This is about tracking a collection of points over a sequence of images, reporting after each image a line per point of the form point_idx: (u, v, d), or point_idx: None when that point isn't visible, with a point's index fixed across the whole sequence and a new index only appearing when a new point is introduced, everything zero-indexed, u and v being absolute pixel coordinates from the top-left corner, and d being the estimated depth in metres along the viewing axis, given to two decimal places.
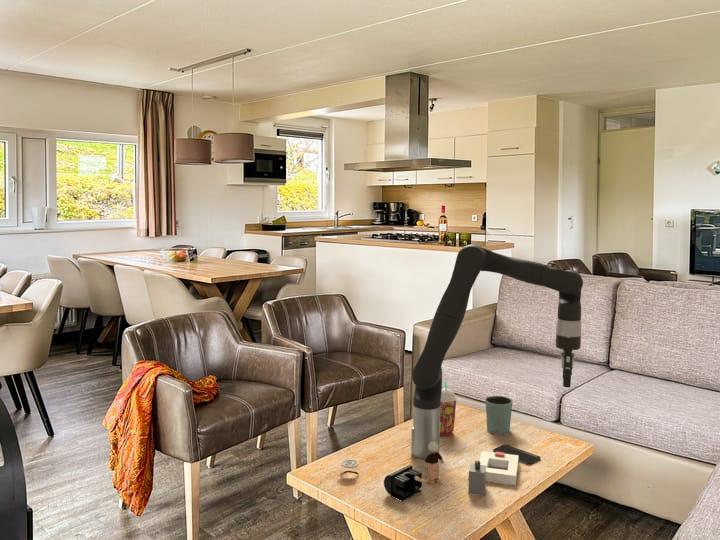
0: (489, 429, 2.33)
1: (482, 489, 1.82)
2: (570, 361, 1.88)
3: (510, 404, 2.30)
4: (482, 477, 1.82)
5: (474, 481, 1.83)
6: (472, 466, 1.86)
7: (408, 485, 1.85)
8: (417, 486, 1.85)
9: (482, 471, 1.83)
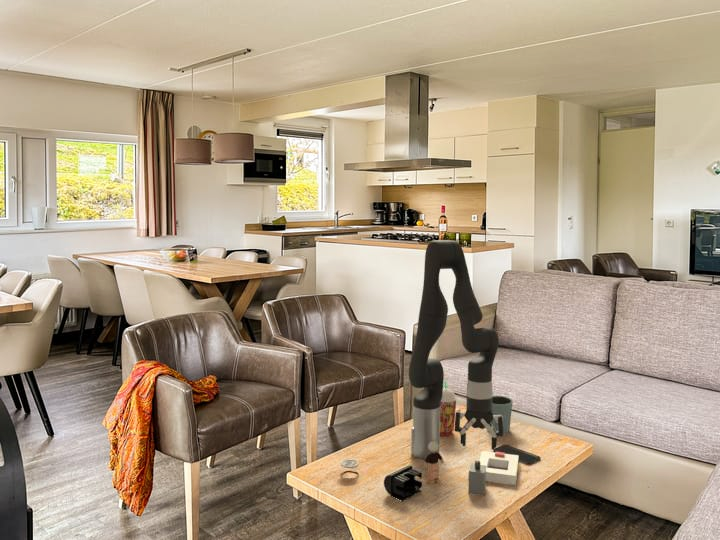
0: None
1: (482, 489, 1.82)
2: (502, 419, 1.82)
3: (510, 404, 2.30)
4: (482, 477, 1.82)
5: (474, 481, 1.83)
6: (472, 466, 1.86)
7: (408, 485, 1.85)
8: (417, 486, 1.85)
9: (482, 471, 1.83)
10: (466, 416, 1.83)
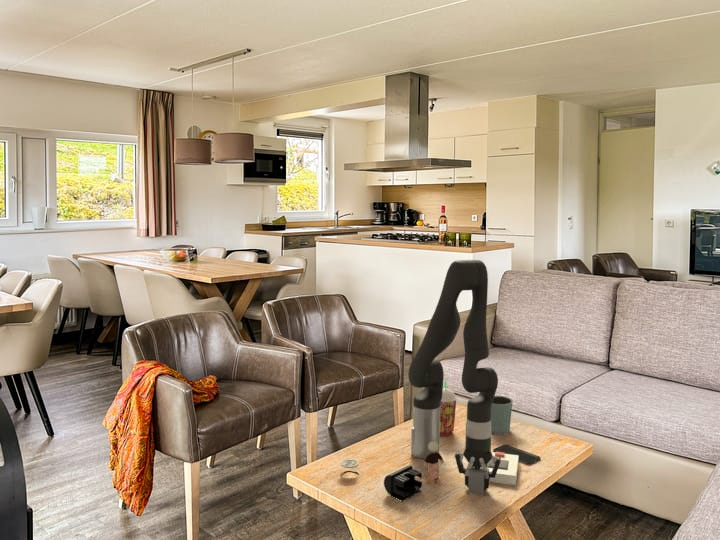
0: None
1: (482, 489, 1.82)
2: None
3: (510, 404, 2.30)
4: (482, 477, 1.82)
5: (474, 481, 1.83)
6: (472, 466, 1.86)
7: (408, 485, 1.85)
8: (417, 486, 1.85)
9: (482, 471, 1.83)
10: (465, 455, 1.85)
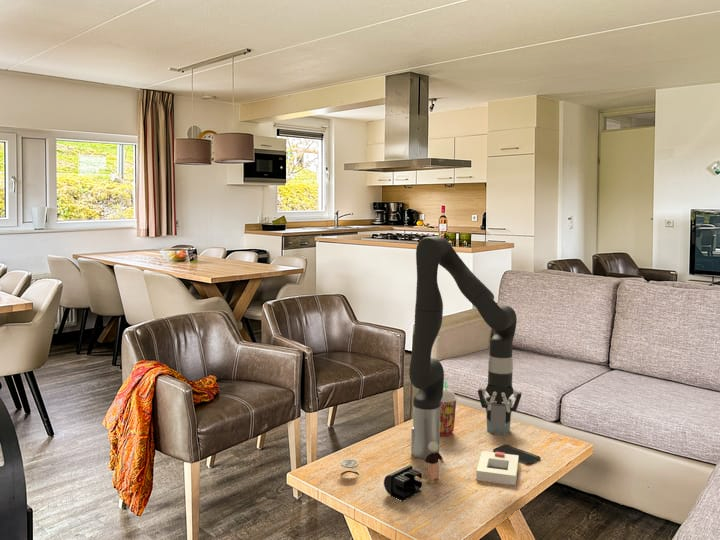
0: (489, 429, 2.33)
1: (504, 422, 1.92)
2: None
3: (510, 404, 2.30)
4: (504, 410, 1.92)
5: (496, 414, 1.93)
6: (494, 401, 1.96)
7: (408, 485, 1.85)
8: (417, 486, 1.85)
9: (504, 405, 1.93)
10: (488, 390, 1.94)
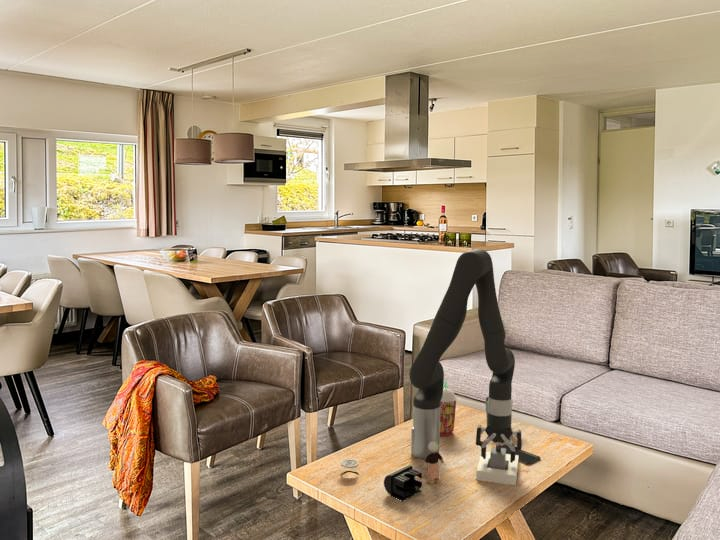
0: None
1: None
2: None
3: None
4: (503, 459, 1.94)
5: (495, 463, 1.95)
6: (493, 449, 1.98)
7: (408, 485, 1.85)
8: (417, 486, 1.85)
9: (503, 453, 1.95)
10: (487, 431, 1.96)
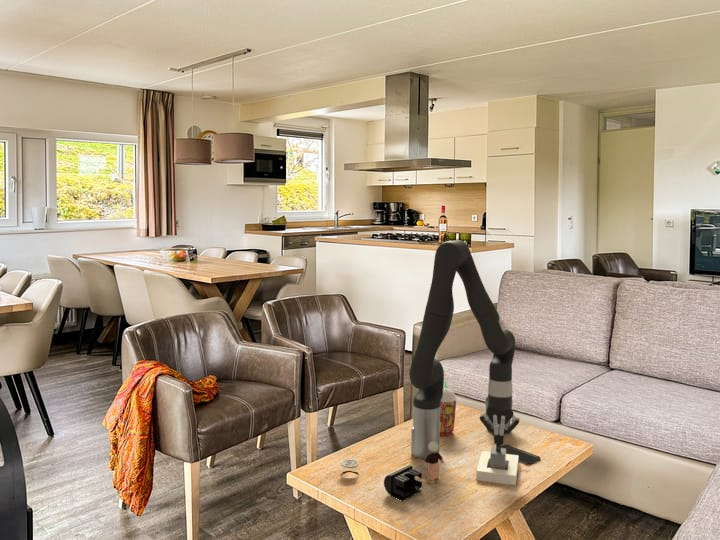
0: None
1: None
2: None
3: None
4: (503, 459, 1.94)
5: (495, 463, 1.95)
6: (493, 449, 1.98)
7: (408, 485, 1.85)
8: (417, 486, 1.85)
9: (503, 453, 1.95)
10: (488, 414, 1.95)
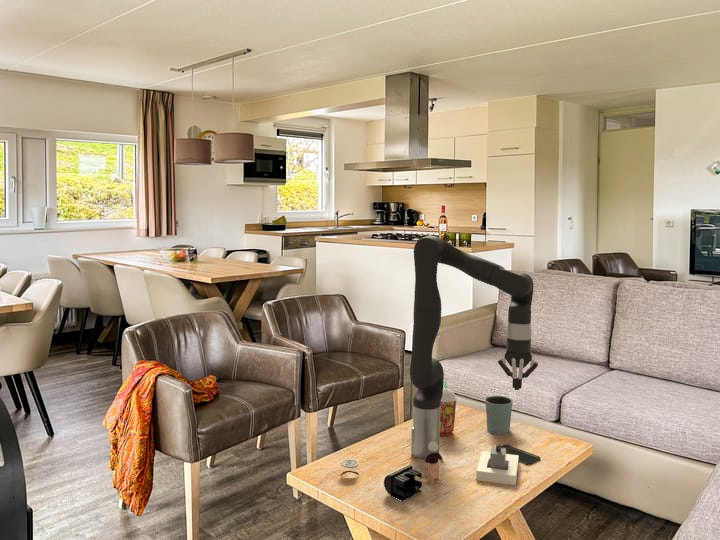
0: (489, 429, 2.33)
1: None
2: None
3: (510, 404, 2.30)
4: (503, 459, 1.94)
5: (495, 463, 1.95)
6: (493, 449, 1.98)
7: (408, 485, 1.85)
8: (417, 486, 1.85)
9: (503, 453, 1.95)
10: (507, 358, 1.96)
